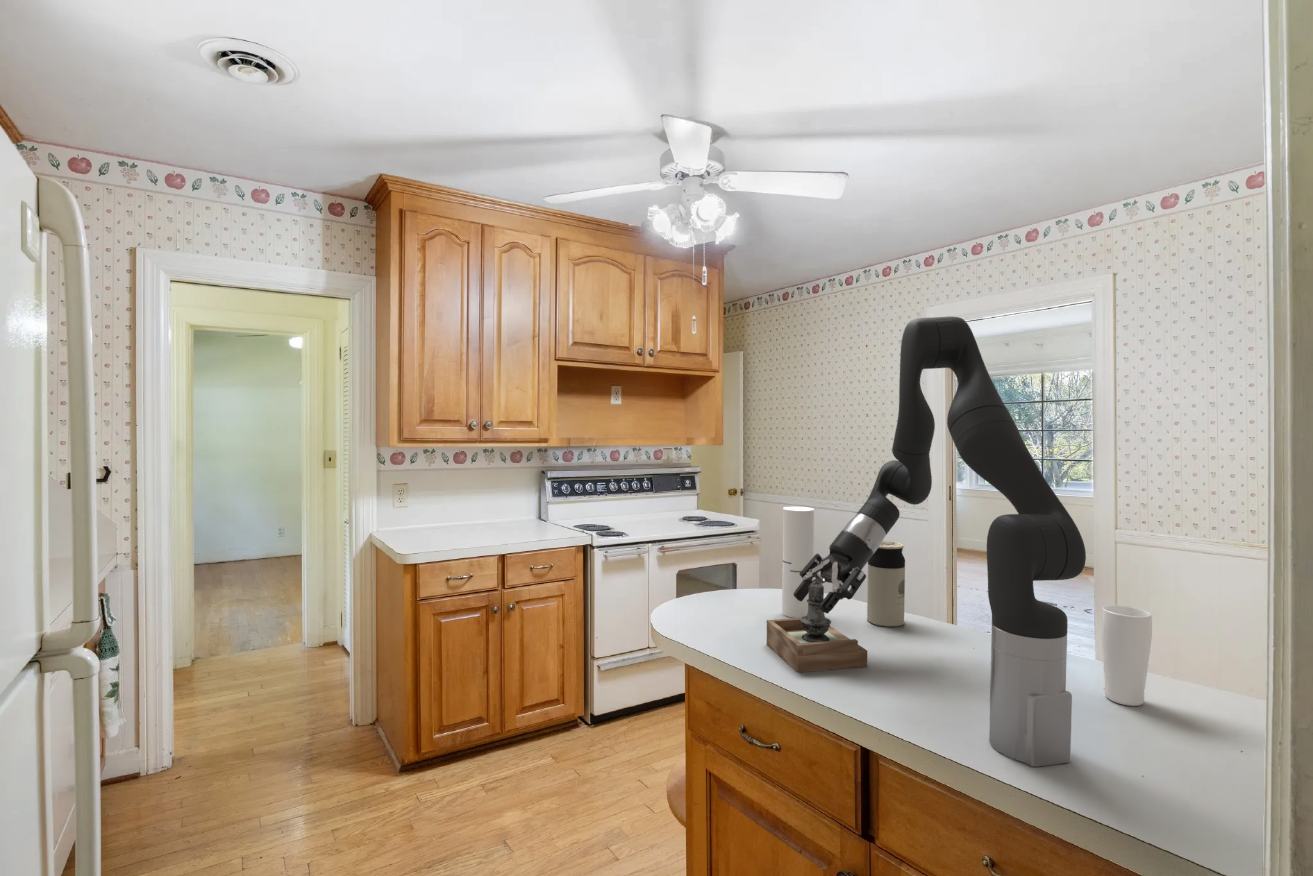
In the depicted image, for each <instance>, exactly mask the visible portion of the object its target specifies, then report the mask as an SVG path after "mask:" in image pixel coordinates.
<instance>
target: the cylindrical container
mask: <svg viewBox="0 0 1313 876" xmlns="http://www.w3.org/2000/svg"><path fill="white" fill-rule="evenodd" d="M814 527H815V509H814V508H812V507H809V506H784V507H782V571H781V573H782V574H781V575H782V577H781V578H782V580H781V581H782V585H781V586H782V588H781V590H782V591H781V595H782V596H781V613H782V615H783V616H785V617H788V618H802V617H805V616H807V613H808V602H807V600H808V599H809V593H808V594H807V595H806V597H805V598H804V599H803V601H798V600H797V599H796V598H795V597H794V592H795V590H796V589H797V588H798V587H799V585H800V584H801V583H802V581H803V578H802V577H801V576H800V572H801V571H802V570H803V569H804V567H805V566H806V565H807V564H808V563H809V561H810V560H811V559H812V558H813V557H814V556H815V553H814V551H815V549H814V545H815V543H814V541H815V540H814V539H815V538H814V537H815V536H814V534H815V532H814V531H815V528H814ZM810 572H811V570H809V571H808V572H807V573H806V574H809V573H810ZM813 580H814V578H813V579H812V581H813Z"/></svg>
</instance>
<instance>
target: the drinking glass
mask: <svg viewBox="0 0 1313 876" xmlns="http://www.w3.org/2000/svg"><path fill="white" fill-rule="evenodd" d="M1152 616H1153V615H1152V613H1151V612H1149V611H1147V610H1144V609H1142V608H1138V607H1133V606H1127V605H1117V604H1107V605H1103V606H1102V609H1101V618H1100V619H1101V623H1100V625H1101V626H1100V633H1101V634H1100V635H1101V636H1100V637H1101V647H1102V648H1101V649H1102V660H1103V661H1102V662H1103V675H1104V695H1105V697H1106V698H1107V699H1108V700H1110V701H1112V702H1114V703H1116V704H1119V705H1124V706H1128V707H1129V706H1131V707H1138V706H1142V705H1143V704H1145V689H1146V684H1147V683H1146V682H1147V676H1148V669H1149V661H1150V654H1151V646H1152V638H1153V637H1152V636H1153V617H1152Z"/></svg>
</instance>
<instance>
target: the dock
mask: <svg viewBox="0 0 1313 876" xmlns="http://www.w3.org/2000/svg"><path fill="white" fill-rule="evenodd" d="M806 633H807V632H806V631H805V630H804V628H803V626H802V622H801V618H792V617H790V618H780V619H779V618H778V619H767V620H766V645H767V646H768V647H769V648H770V649H771V650H772V649H773V650H772V651H773V652H774V653H776V654H777V656H779V657H780V658H781V659H782V658H783V659H782V660H783V661H784V660H785V661H784V662H786V663H787V664H788V665H789V667H791V668H792V669H793V670H794V671H795V670H796V671H795V672H796V673H798V672H799V673H807V672H808V671H810V672H816V671H815V670H821V671H829V670H828V669H833V670H841V669H842V670H843V669H853V668H854V667H855V668H866V667H868V650H867V649H866V648H864V647H863V646H861V645H860V644H859V643H858V642H859V641H858V640H857V639H856V638H853V639H851V638H850V637H848V636H846V635H844V634H843V633H842V632H840V631H839V630H838V629H836V628H834V627H833V626H832V625H830V627H829V629H828V631H827V632H826V633H825V635H826V636H827V637H829V641H824V642H808V641H805V640H803V639H802V636H803V635H804V634H806ZM808 673H809V672H808Z"/></svg>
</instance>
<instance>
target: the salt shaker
mask: <svg viewBox="0 0 1313 876" xmlns="http://www.w3.org/2000/svg"><path fill="white" fill-rule="evenodd" d="M814 579H815V582H814V583H811V584H810V585H809V599H808V600H807V602H808V613H807V616H805V617H802V618H801V622H802V626H803V628H804V630H805V631H806V632H807V633H806V634H804V635H803V636H802V639H803V640H805V641H808V642H824V641H829V637H827V636H826V635H825V633H826V632H827V631H828V629H829V627H830V626H831V624H832V620H831V619H830V618H827V617H826V616H825V613H824V612H823V611H822V610H821V609H820V607H819V605H820V604H821V602H822V601H823V600H824V598H825V597H824V596H825V594H824V592H825V591H824V590H825V588H824V585H823V584H821V583H819V582H818V579H817V578H814Z"/></svg>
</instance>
